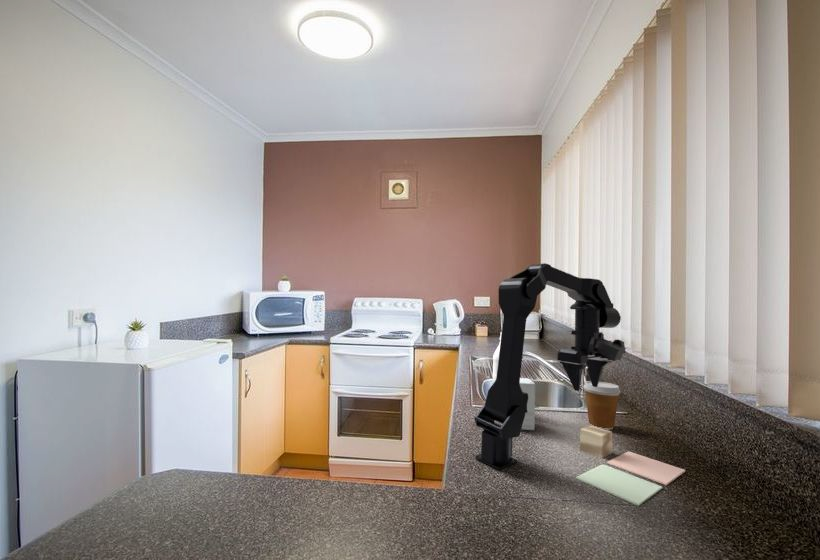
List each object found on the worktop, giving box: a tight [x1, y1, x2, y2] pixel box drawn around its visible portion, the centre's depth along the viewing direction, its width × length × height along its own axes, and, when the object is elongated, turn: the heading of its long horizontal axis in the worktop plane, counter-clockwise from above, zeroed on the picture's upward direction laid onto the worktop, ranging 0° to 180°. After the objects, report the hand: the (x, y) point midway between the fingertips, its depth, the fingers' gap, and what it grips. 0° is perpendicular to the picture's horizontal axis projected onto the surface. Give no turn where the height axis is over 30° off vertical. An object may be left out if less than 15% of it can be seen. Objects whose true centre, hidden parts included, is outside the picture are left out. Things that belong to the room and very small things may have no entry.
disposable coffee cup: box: [582, 380, 621, 428], centre depth 102 cm, size 10×10×12 cm
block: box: [579, 425, 613, 459], centre depth 84 cm, size 5×5×5 cm
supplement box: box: [520, 377, 536, 431], centre depth 100 cm, size 7×7×13 cm
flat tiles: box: [575, 450, 686, 507], centre depth 72 cm, size 24×11×1 cm, turn 127°
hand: (586, 388), depth 92 cm, fingers open, 9 cm apart
